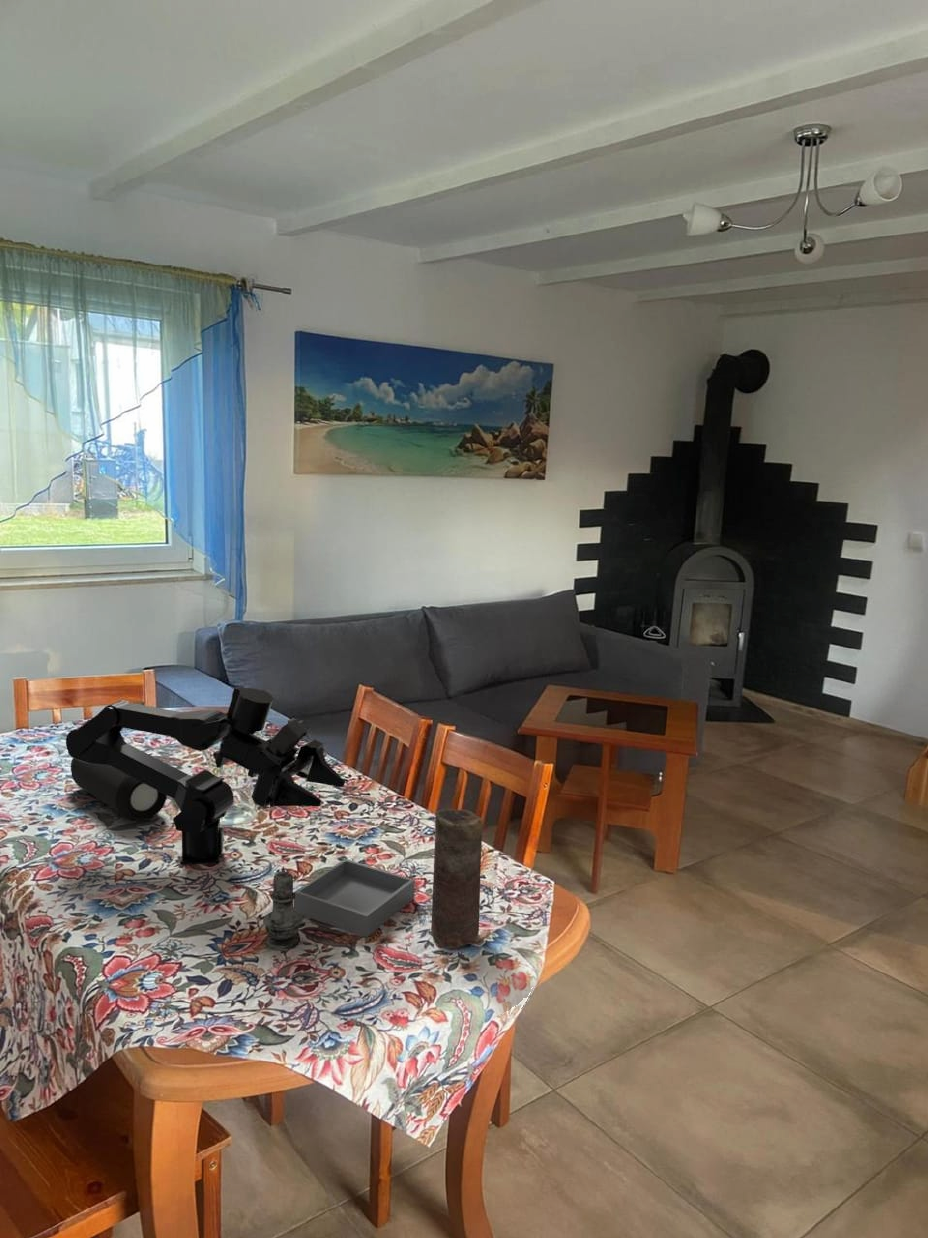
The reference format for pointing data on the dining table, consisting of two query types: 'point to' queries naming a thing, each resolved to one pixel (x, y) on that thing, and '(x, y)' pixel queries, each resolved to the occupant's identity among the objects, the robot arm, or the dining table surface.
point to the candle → (456, 878)
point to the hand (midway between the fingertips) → (332, 793)
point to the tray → (354, 897)
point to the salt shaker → (282, 915)
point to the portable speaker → (118, 790)
